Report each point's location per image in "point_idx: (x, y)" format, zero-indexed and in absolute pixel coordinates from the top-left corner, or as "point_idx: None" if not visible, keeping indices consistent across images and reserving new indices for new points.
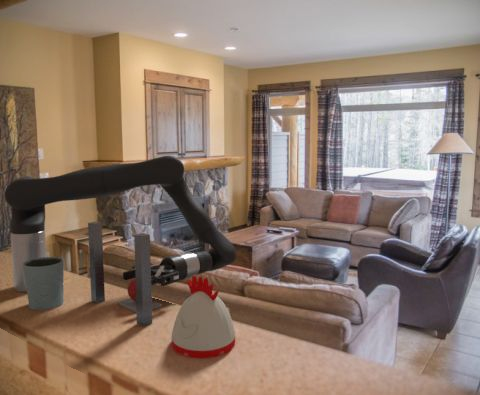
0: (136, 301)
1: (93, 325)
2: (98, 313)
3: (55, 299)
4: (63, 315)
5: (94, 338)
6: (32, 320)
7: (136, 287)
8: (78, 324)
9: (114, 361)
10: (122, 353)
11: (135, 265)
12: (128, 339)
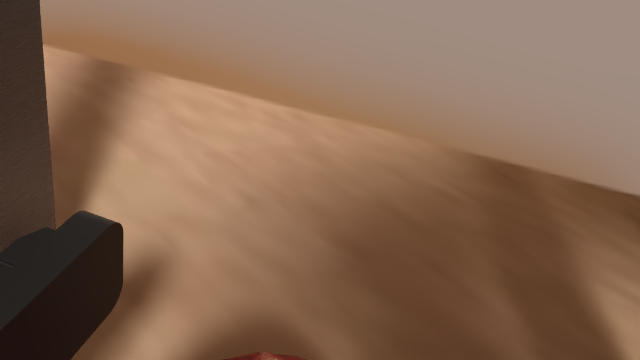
0: (46, 131)
1: (307, 214)
2: (420, 333)
3: None
4: (558, 268)
5: (204, 136)
6: (601, 207)
7: (31, 14)
8: (386, 210)
9: None
10: None
11: None
12: None
